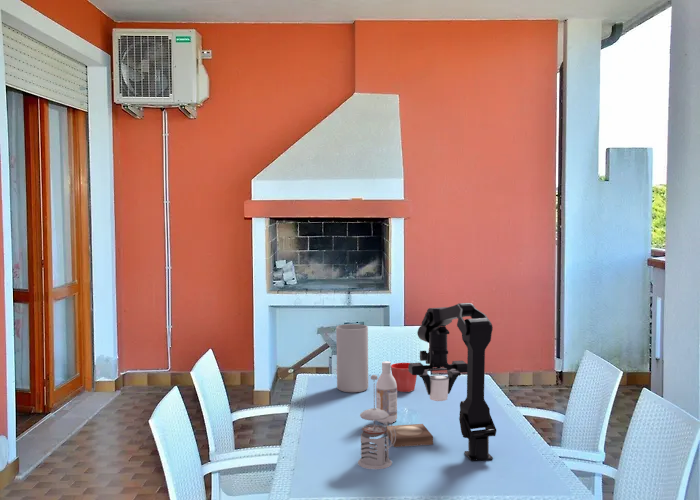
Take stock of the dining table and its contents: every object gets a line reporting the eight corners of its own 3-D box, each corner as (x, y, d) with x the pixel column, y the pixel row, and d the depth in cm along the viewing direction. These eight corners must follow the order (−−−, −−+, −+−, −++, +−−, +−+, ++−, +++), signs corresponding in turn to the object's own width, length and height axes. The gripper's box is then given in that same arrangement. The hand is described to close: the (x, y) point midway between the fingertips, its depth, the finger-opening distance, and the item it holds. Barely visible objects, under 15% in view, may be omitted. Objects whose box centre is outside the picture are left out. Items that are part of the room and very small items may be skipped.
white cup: (448, 402, 210) (448, 380, 209) (427, 401, 211) (426, 379, 211) (449, 396, 216) (449, 375, 216) (428, 395, 218) (428, 374, 217)
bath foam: (373, 418, 225) (373, 360, 224) (392, 416, 227) (392, 359, 226) (380, 424, 219) (380, 365, 217) (400, 422, 221) (399, 363, 219)
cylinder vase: (332, 391, 259) (332, 328, 258) (342, 383, 271) (341, 323, 270) (363, 394, 256) (362, 330, 254) (371, 385, 268) (371, 324, 266)
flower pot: (386, 388, 264) (385, 364, 264) (409, 384, 269) (409, 361, 268) (398, 394, 255) (398, 369, 254) (423, 391, 259) (423, 366, 259)
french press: (371, 453, 193) (370, 369, 191) (404, 462, 185) (403, 374, 184) (350, 463, 185) (349, 375, 184) (383, 473, 178) (382, 382, 176)
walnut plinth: (433, 444, 200) (433, 435, 199) (394, 447, 198) (394, 438, 198) (422, 431, 211) (422, 423, 211) (386, 433, 210) (386, 425, 209)
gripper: (458, 340, 222) (458, 386, 223) (404, 342, 219) (404, 389, 220) (469, 346, 211) (469, 395, 212) (412, 349, 208) (412, 398, 209)
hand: (438, 394), depth 213 cm, fingers closed on white cup, 6 cm apart
